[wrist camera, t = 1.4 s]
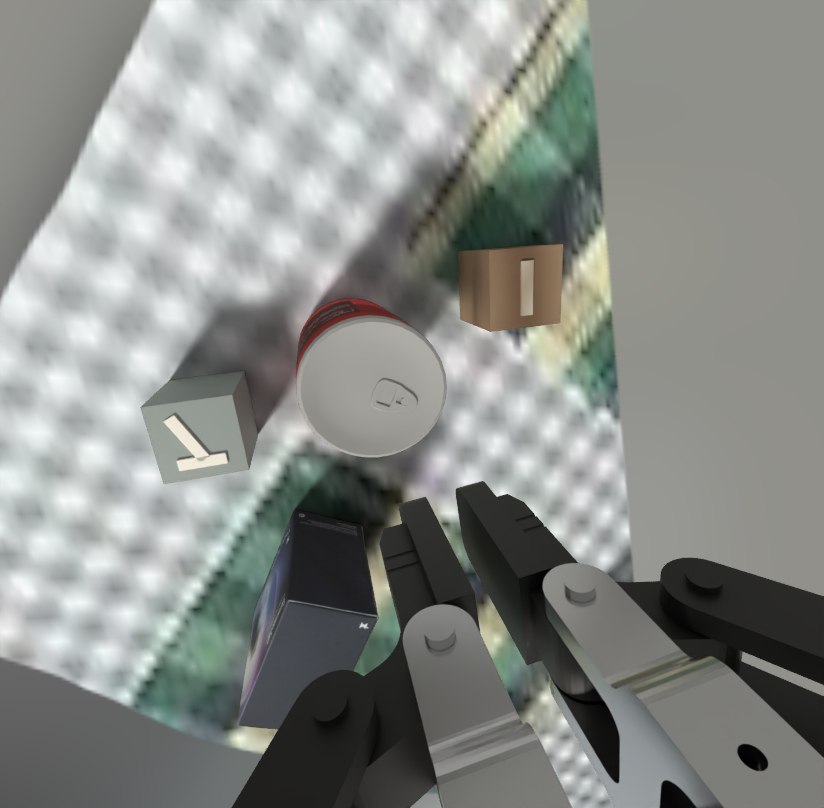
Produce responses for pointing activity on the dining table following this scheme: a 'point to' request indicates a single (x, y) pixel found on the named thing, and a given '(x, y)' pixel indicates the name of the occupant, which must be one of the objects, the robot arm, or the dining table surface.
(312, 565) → the small box
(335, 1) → the dining table surface
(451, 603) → the robot arm
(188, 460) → the slate digit block
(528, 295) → the walnut digit block
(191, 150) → the dining table surface
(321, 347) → the canned food
